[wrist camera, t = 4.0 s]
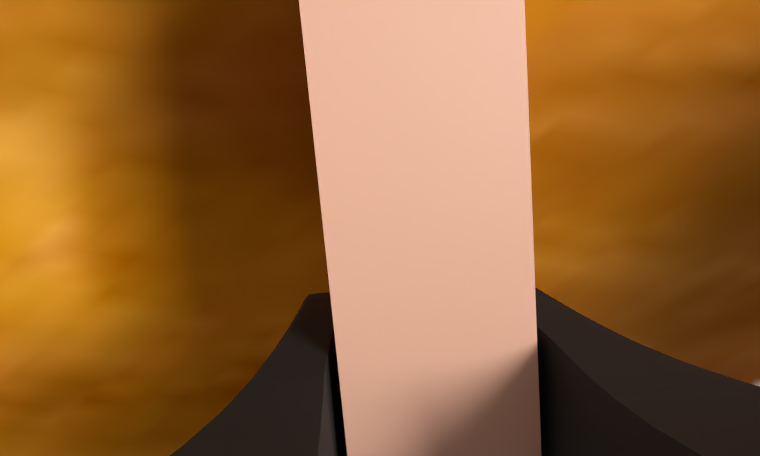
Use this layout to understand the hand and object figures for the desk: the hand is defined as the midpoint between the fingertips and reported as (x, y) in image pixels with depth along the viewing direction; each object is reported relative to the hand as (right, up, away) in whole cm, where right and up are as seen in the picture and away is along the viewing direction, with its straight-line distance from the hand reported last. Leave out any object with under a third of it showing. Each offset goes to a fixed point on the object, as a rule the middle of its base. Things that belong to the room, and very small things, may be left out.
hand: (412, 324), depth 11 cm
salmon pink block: (-1, +4, +2) cm, 5 cm away
